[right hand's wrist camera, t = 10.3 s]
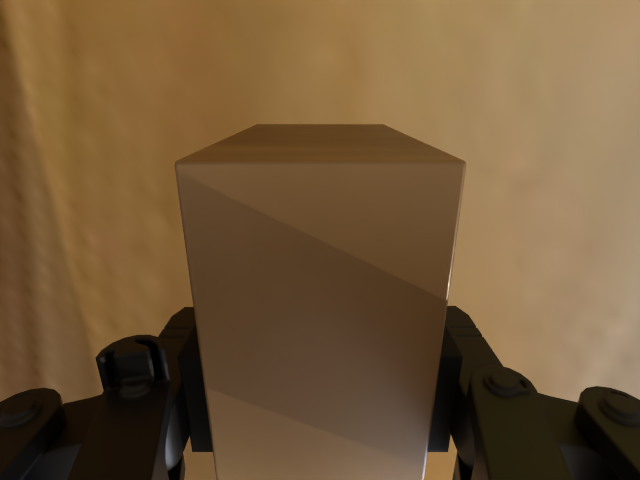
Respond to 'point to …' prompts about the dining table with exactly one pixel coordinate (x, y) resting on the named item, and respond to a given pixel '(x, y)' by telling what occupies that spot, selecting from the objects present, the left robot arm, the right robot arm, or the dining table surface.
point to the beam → (320, 296)
